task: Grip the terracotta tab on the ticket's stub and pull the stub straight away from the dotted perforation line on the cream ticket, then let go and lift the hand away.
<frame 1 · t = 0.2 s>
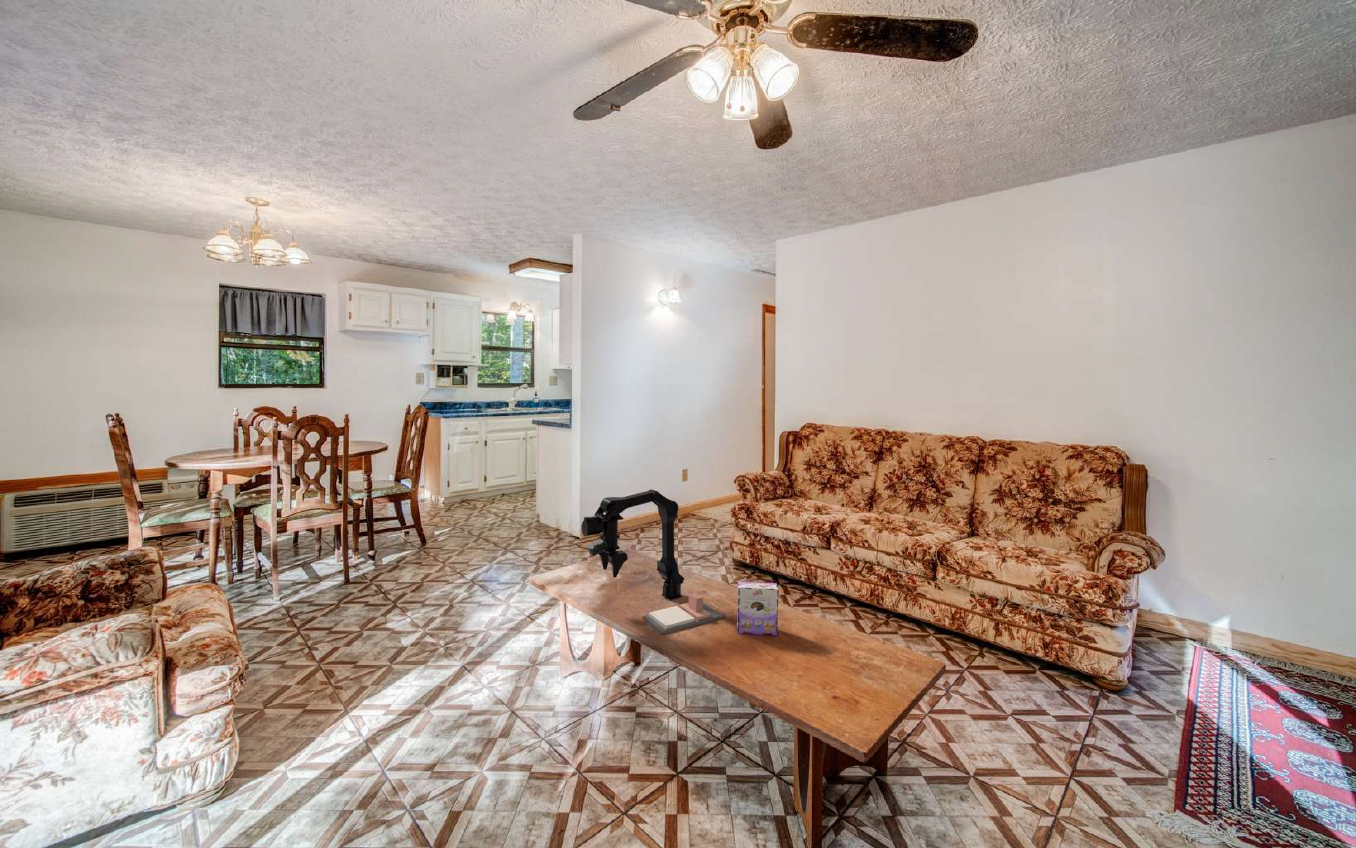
hand: (609, 573, 194), 14 cm above the table, fingers open, 9 cm apart
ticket: (672, 616, 188), on the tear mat, point 1 cm above the table
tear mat: (683, 618, 190), on the table
candy box: (756, 631, 182), on the table
stub: (694, 604, 193), point 4 cm above the table, slide at 0.0 cm
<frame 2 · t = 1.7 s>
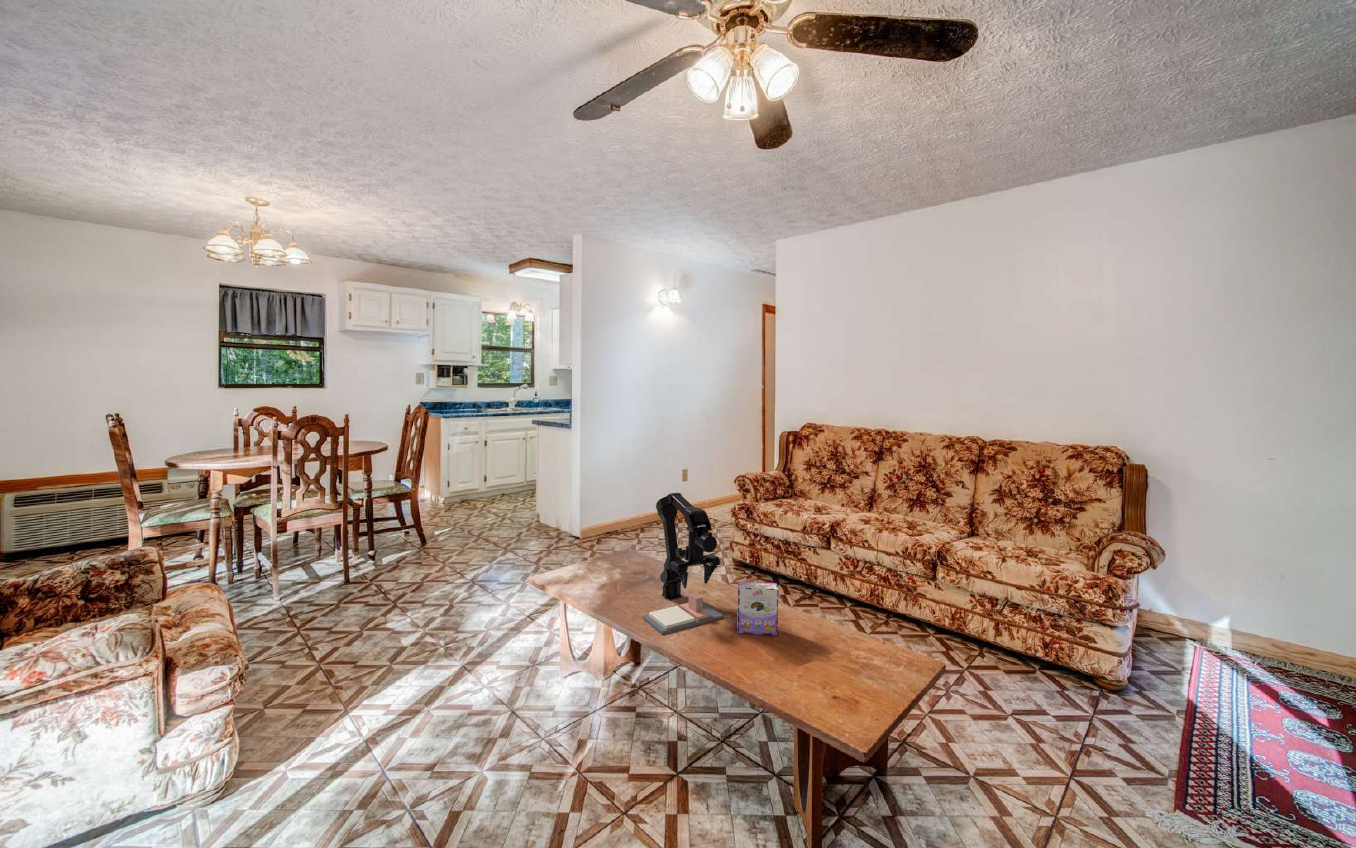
hand: (695, 586, 192), 11 cm above the table, fingers open, 9 cm apart
nothing on the table moved.
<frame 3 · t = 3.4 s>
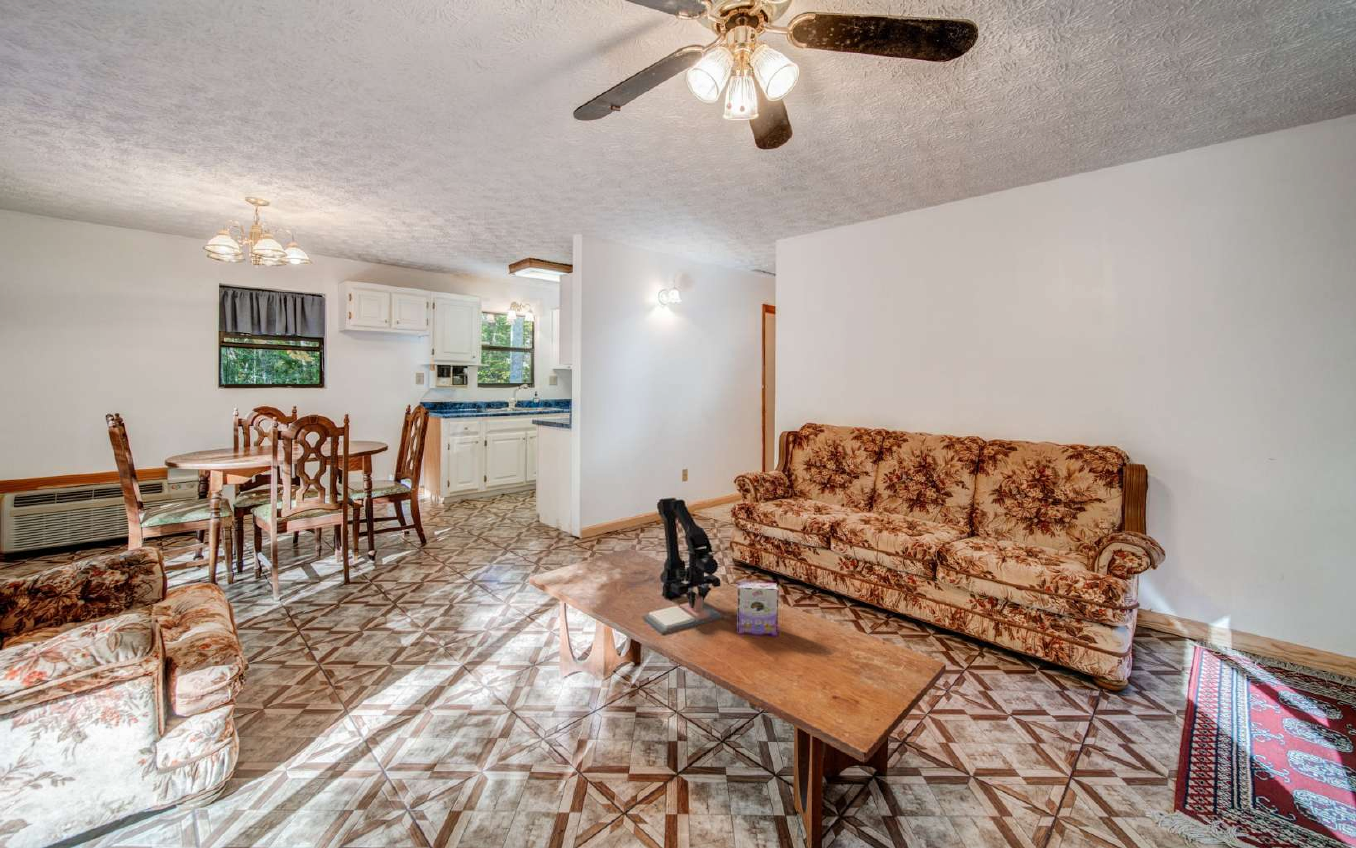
hand: (695, 607, 193), 3 cm above the table, fingers closed on stub, 3 cm apart
stub: (694, 604, 193), point 4 cm above the table, slide at 0.0 cm, touching gripper
everything else where it was.
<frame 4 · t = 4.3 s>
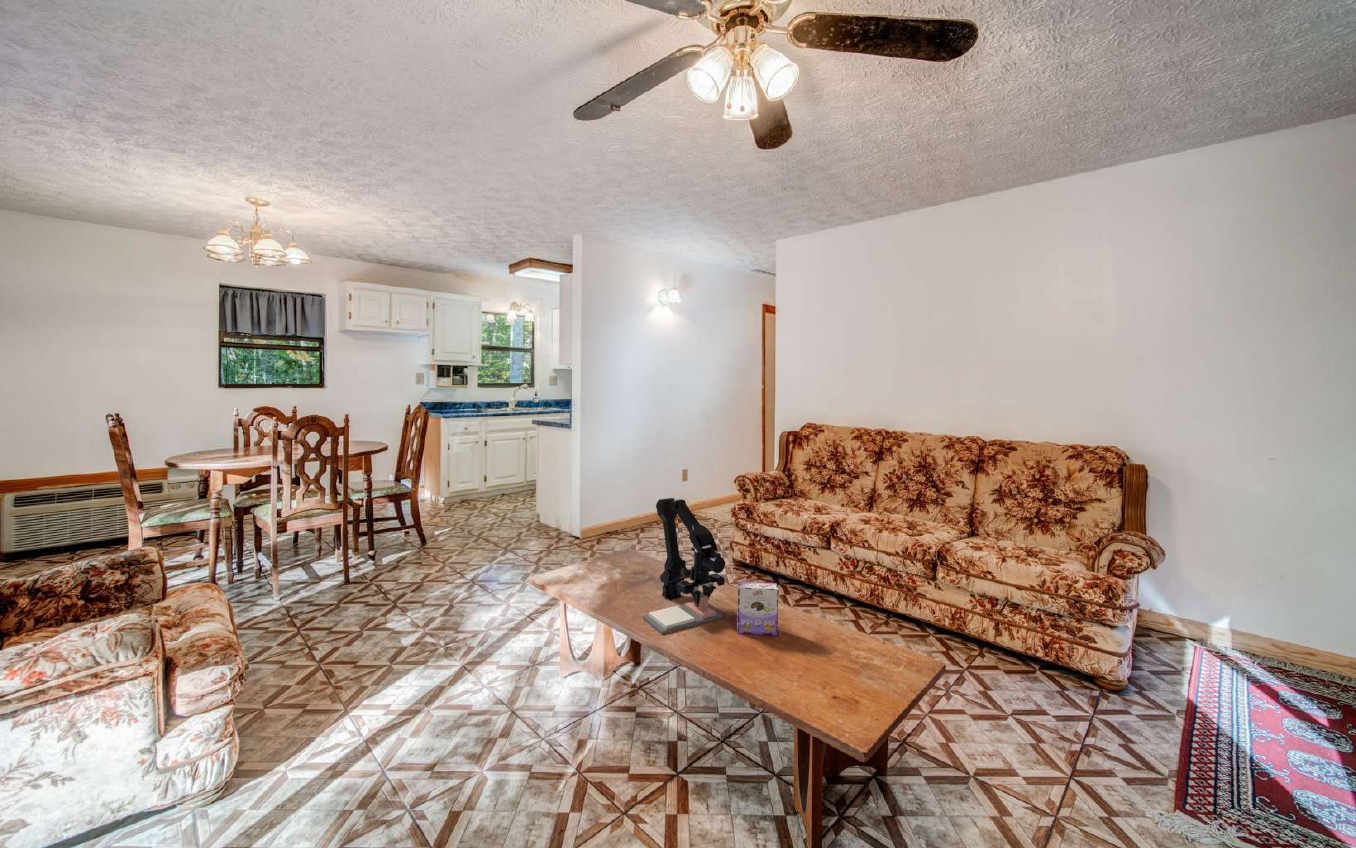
hand: (700, 605, 194), 3 cm above the table, fingers closed on stub, 3 cm apart
stub: (699, 603, 194), point 4 cm above the table, slide at 2.2 cm, touching gripper
everything else where it was.
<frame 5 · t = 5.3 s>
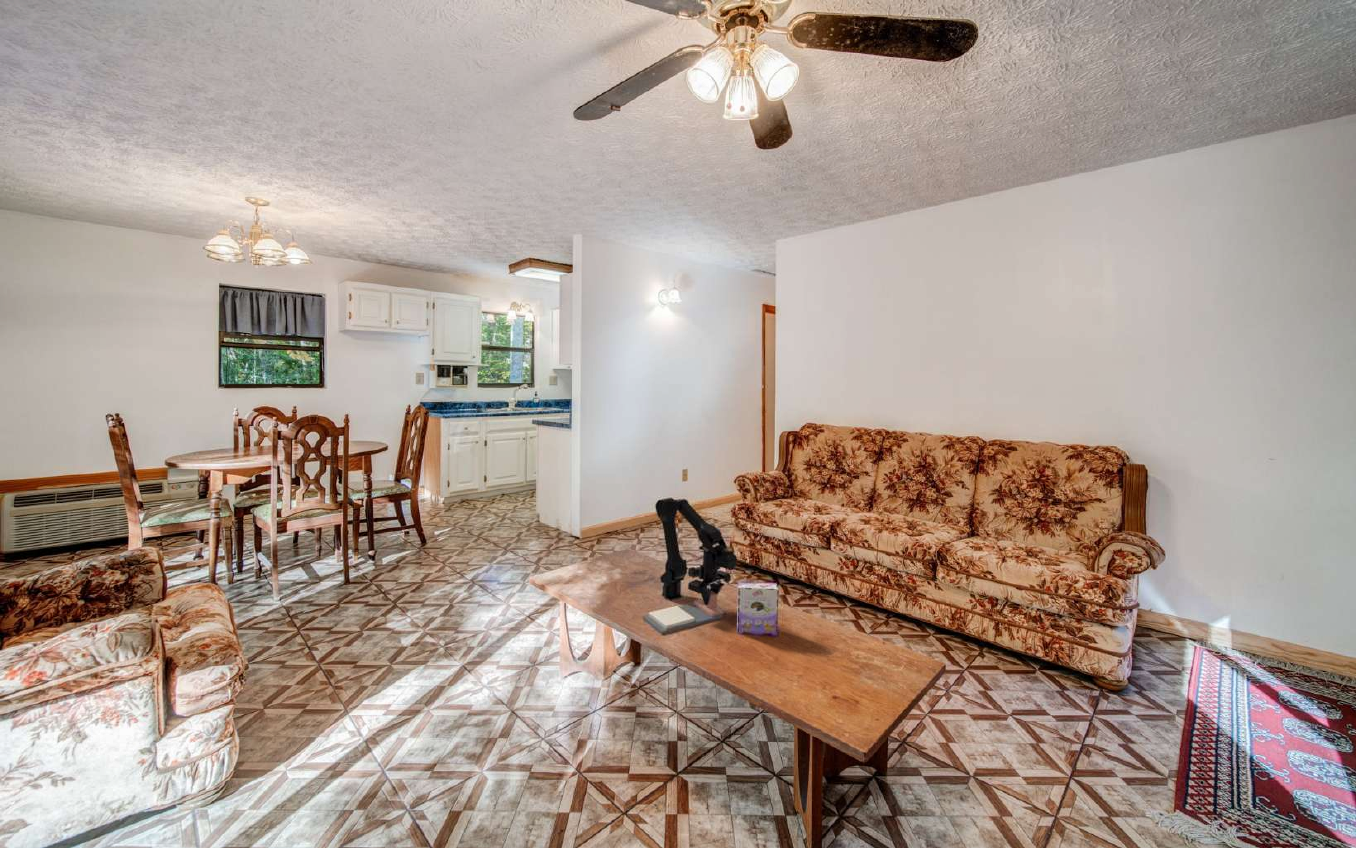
hand: (709, 603, 197), 3 cm above the table, fingers closed on stub, 3 cm apart
stub: (708, 600, 196), point 4 cm above the table, slide at 6.3 cm, touching gripper
everything else where it was.
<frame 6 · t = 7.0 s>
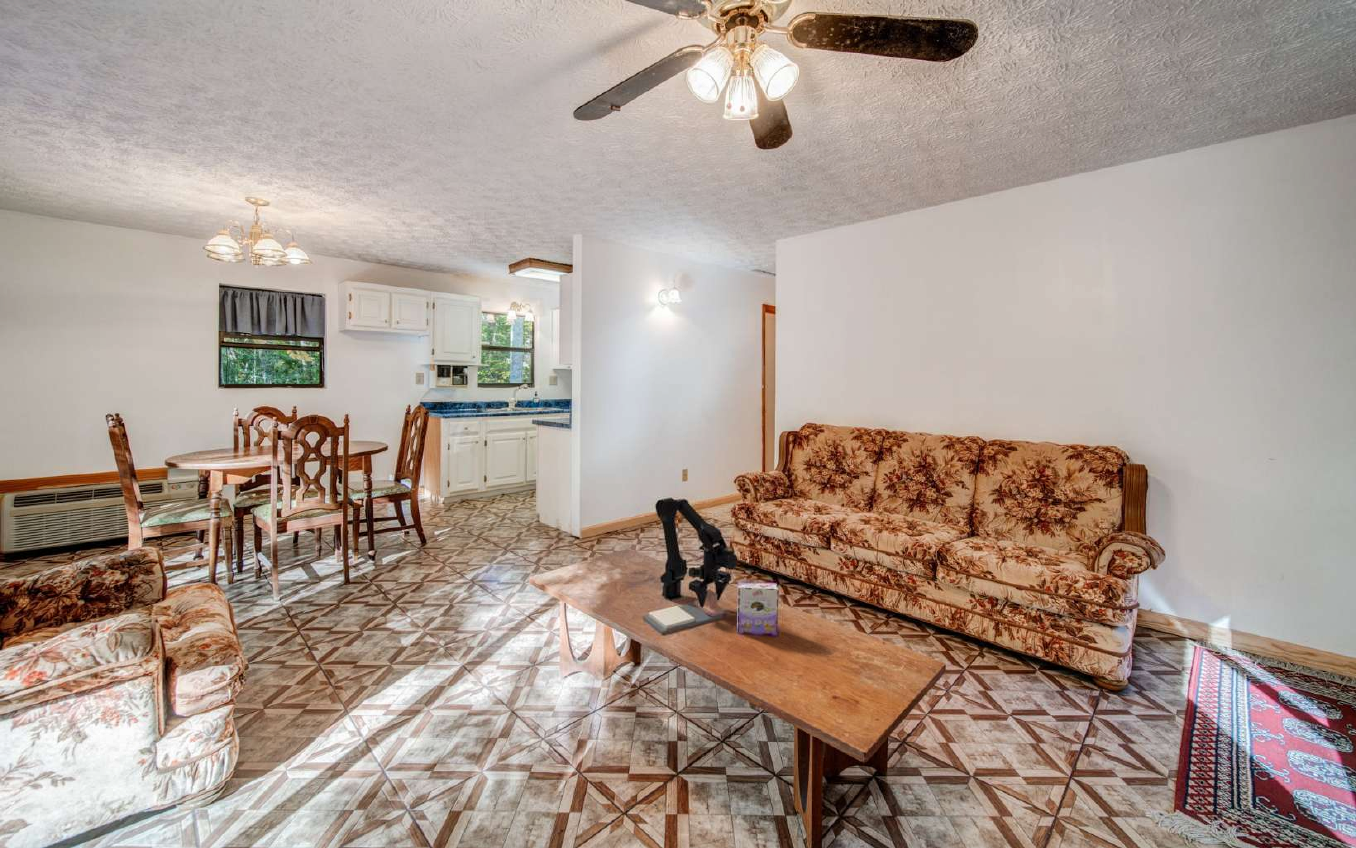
hand: (709, 603, 197), 3 cm above the table, fingers open, 9 cm apart
stub: (709, 600, 196), point 4 cm above the table, slide at 6.4 cm
everything else where it was.
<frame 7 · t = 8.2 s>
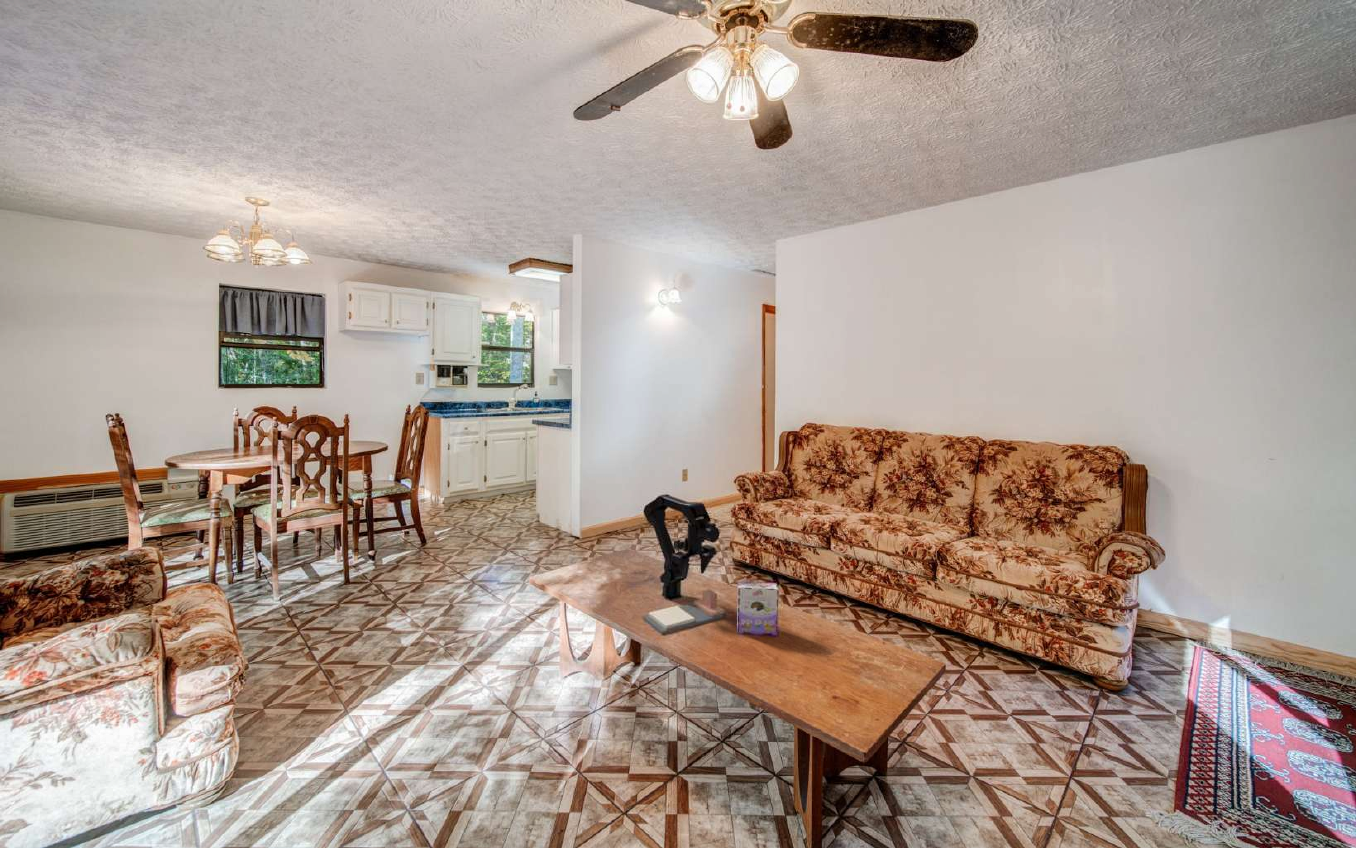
hand: (693, 576, 200), 12 cm above the table, fingers open, 9 cm apart
nothing on the table moved.
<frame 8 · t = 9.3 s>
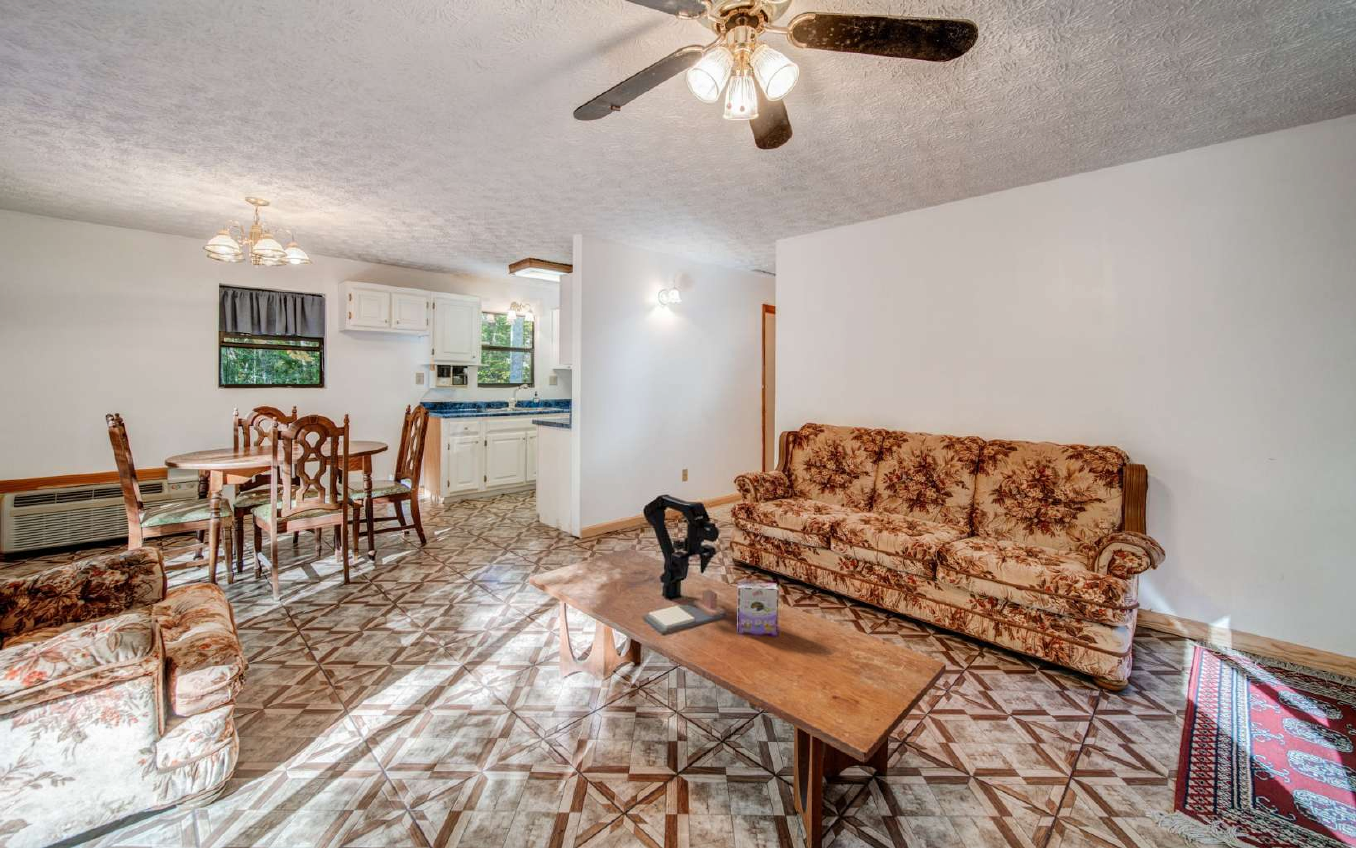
hand: (693, 575, 200), 12 cm above the table, fingers open, 9 cm apart
nothing on the table moved.
at the end: stub slide at 6.4 cm; the gripper is holding nothing; candy box moved 0.3 cm from its start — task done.
